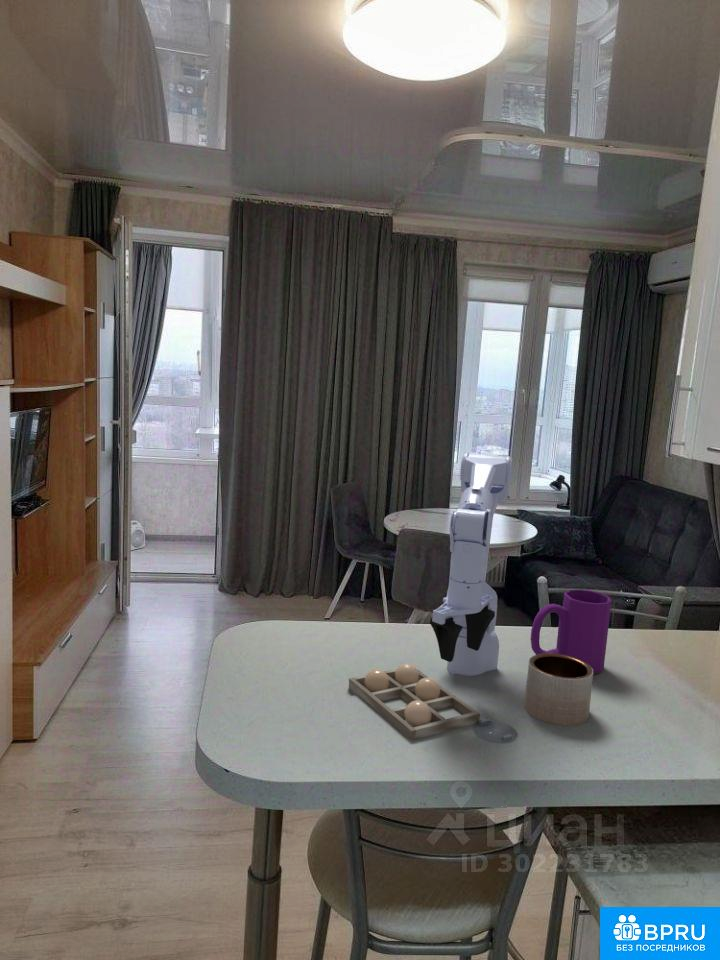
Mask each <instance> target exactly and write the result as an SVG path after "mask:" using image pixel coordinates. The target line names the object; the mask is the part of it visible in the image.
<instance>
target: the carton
mask: <svg viewBox="0 0 720 960" xmlns="http://www.w3.org/2000/svg"><path fill="white" fill-rule="evenodd" d="M396 669H397V668H394V669H389V670H385V671H384V670H383V671H384V672H385V673H386V674H387V676H388V678H389V686H388V689H386V690H382V691H377V692H372V693H371V692H370V691H369V690H367V689H366V687H365V684H364V681H365V677H366V675H367V674H364V675H360V676H355V677H354V676H353V677H351V678H350V677H349V678H348V690H349V691H350V692H351V693H352V694H354V696H358V697H360V698H362V699H363V700H364V701H365V702H366V703H367V704H369V706H371V708H373V709H374V710H375V711H376V712H378V713H379V714H380V715H381V716H382V717H383V718H385V719H386V721H387V722H389V723H390V724H392V725H393V726H394V727H395V728H396V729H398V730H399V732H401V733H402V734H403V735H404V736H406V738H407V739H409V740H410V741H413V740H417V739H421V738H426V737H429V736H433V735H436V734H440V733H444V732H448V731H452V730H455V729H459V728H463V727H467V726H470V725H473V724H474V725H475V724H477V723H479V722H480V720H481V713H480V712H479V711H477V710H476V709H475V708H473V707H472V706H470V705H469V704H467V703H466V702H465V701H463V700H462V699H460V698H459V697H457V696H456V695H455V694H453V693H452V692H450V691H449V690H448V689H446V688H444V687H443V686H442V685H440V684H439V683H438V685H439V687H440V695H439V698H437V699H433V700H429V701H425V703H426V704H427V705H428V706H429V708H430V710H431V720H430V723H429V724H425V725H421V726H417V727H412V726H411V725H409V724H408V723H407V722H406V721H405V720H404V719H405V717H404V711H405V708H406V706H407V705H404V706H401V707H396V708H390V707H389V706H388V705H387V704H385V703H384V702H385V701H388V700H394V699H398V698H401V699H402V700H403V701H405V703H407V704H409V703H410V702H412V701H416V700H419V701H421V700H420V699H419V698H417V697H416V695H415V686H416V684H417V683H414V684H409V685H405V686H402V685H400V684H399V683H398V682H396V680H395V671H396ZM417 670H418V673H419V679H418V681H419V680H421V679H423V678H430V677H428V675H426V674H424V673H423V672H422V671H420V670H419V669H417ZM449 707H450V708H451V707H453V708H454V709H455V710H456V711H458V712H460V713H461V715H458V716H454V717H448V718H445V717H444V716H442V715H441V714H440V713H438V712H437V710H441V709H442V710H443V709H445V708H449Z"/></svg>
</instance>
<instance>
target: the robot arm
mask: <svg viewBox="0 0 720 960" xmlns="http://www.w3.org/2000/svg"><path fill="white" fill-rule="evenodd" d="M460 463H461V464H460V471H459V472H460V475H459V478H460V490H461V496H460V499H459V503H458V507H457V509H456V511H455V510H452V513H451V517H450V522H449V542H450V544H449V552H450V553H451V554H450V564H449V565H450V566H449V578H448V579H449V580H448V589H447V591H446V597H443V598H442V602H443V604H441V605H440V606H438V607H437V608H436V609H433V610H432V616H430V617H429V624H430V626H431V627H432V630H433V632H434V634H435V637H436V640H437V641H436V642H437V645H438V650H439V651H438V652H439V655H440V659H441V660H444V661H446V662H447V663H446V670H447V671H448V672H449V673H450V674H452V675H461V676H467V677H468V676H469V677H471V676H473V677H474V676H479V675H482V674H483V673H484V674H485V673H487V672H492V671H495V670H498V663H499V651H500V641H499V638H498V635H497V633H496V632H495V629H496V622H497V612H498V594H497V592H496V591H495V590H494V589H493V588H492V587H491V586H490V585H489V584H488V583H487V582H486V578H487V570H488V563H489V553H490V552H489V551H490V544H491V535H492V528H493V521H494V515H495V512H496V511H497V510H496V509H497V507H498V505H499V504H501V503H503V502H505V501H507V499H508V496H509V492H510V485H511V481H512V480H511V479H512V470H513V458H511V456H510V455H509V456H500V455H489V454H476V453H475V454H474V453H469V452H465V453H464V454H462V457H461V462H460Z"/></svg>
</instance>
